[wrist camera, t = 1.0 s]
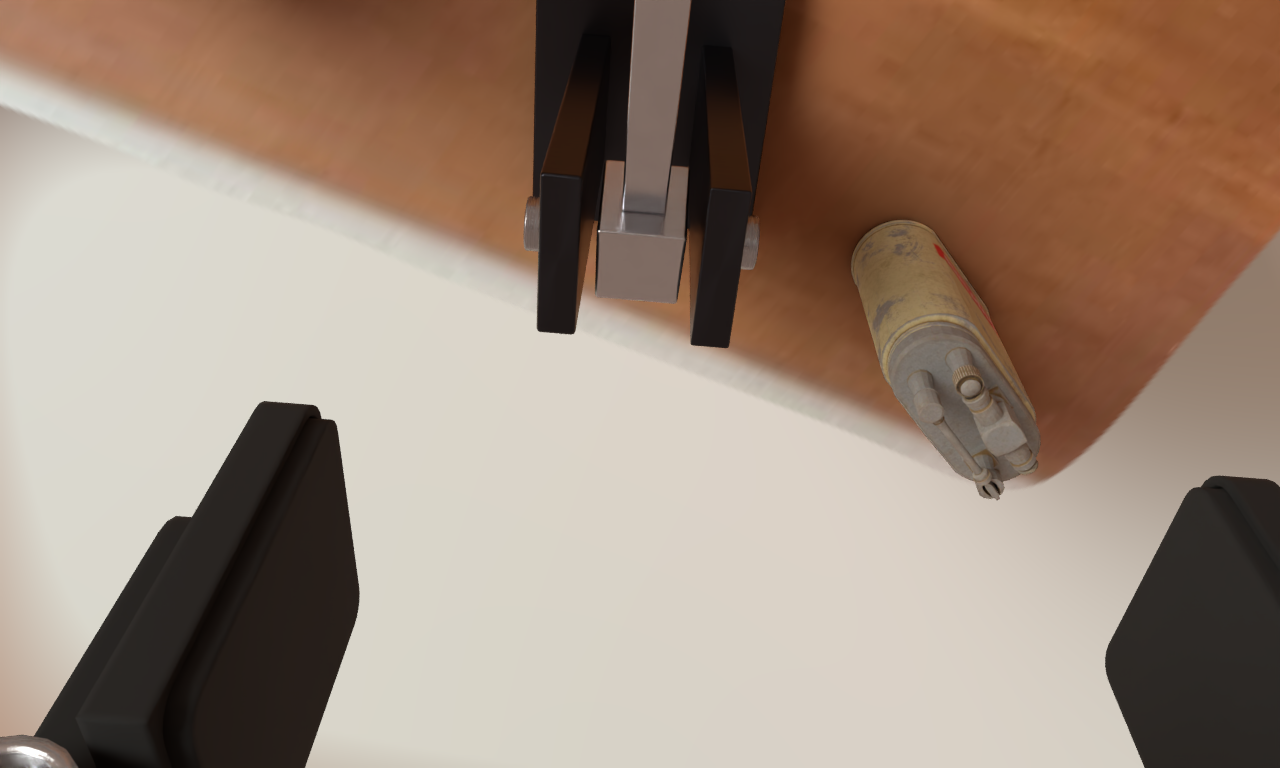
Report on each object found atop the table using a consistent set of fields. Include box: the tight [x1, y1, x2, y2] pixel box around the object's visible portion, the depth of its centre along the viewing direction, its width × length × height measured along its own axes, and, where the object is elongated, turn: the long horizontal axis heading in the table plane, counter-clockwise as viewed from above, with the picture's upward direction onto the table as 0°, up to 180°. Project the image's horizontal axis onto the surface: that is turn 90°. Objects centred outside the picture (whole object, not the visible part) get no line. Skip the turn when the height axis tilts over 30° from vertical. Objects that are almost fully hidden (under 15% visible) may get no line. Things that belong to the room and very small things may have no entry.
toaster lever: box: [595, 0, 692, 304], centre depth 22 cm, size 12×5×2 cm, turn 175°
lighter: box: [851, 220, 1040, 500], centre depth 35 cm, size 7×4×10 cm, turn 39°
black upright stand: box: [524, 0, 786, 348], centre depth 30 cm, size 9×8×13 cm
